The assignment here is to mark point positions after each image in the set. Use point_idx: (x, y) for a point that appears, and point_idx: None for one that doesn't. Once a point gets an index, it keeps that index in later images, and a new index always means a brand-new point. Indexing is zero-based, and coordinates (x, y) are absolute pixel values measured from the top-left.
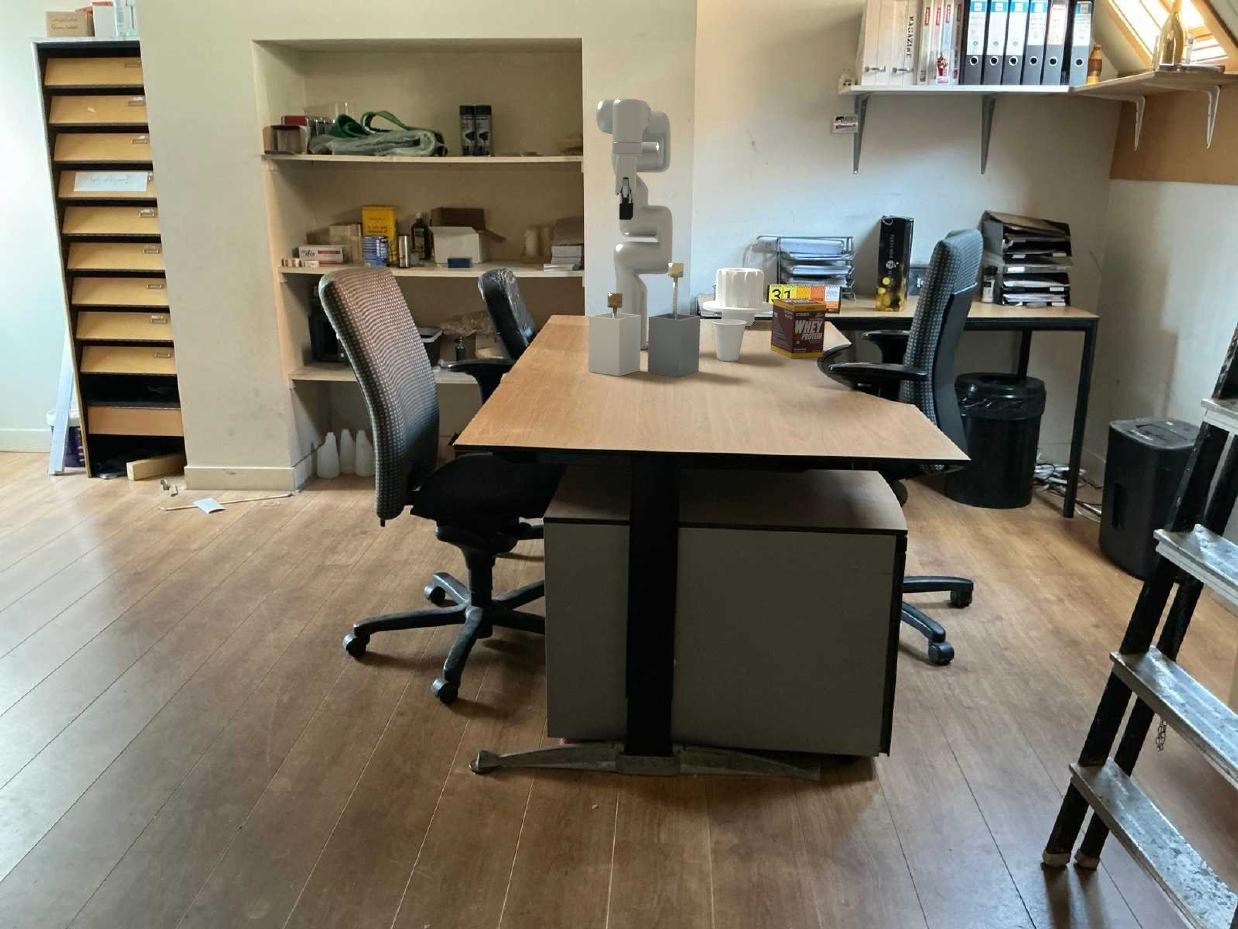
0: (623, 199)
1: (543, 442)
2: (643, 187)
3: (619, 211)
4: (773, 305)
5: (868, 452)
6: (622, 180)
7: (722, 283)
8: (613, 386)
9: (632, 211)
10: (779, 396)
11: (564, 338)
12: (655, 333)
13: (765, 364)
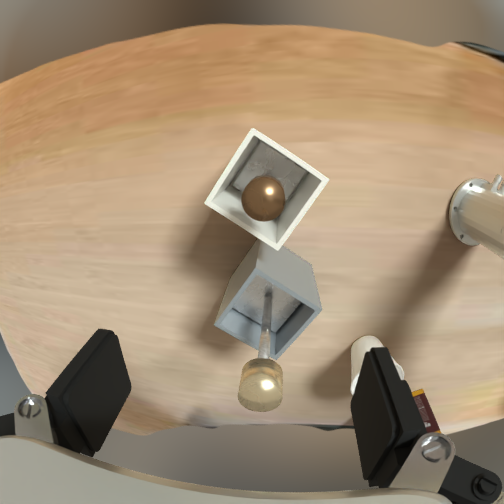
0: (7, 422)
1: None
2: None
3: (75, 357)
4: (437, 429)
5: (19, 367)
6: None
7: None
8: (150, 182)
9: (356, 433)
10: (142, 369)
11: None
12: (248, 268)
13: (328, 384)
